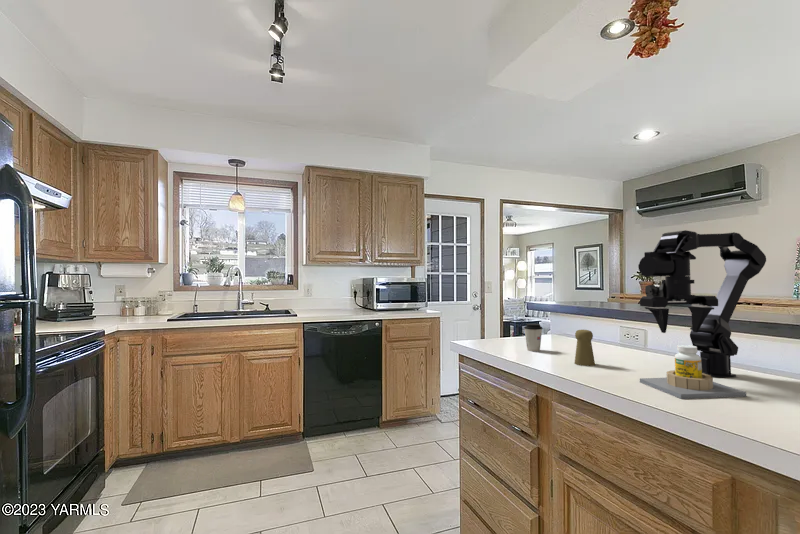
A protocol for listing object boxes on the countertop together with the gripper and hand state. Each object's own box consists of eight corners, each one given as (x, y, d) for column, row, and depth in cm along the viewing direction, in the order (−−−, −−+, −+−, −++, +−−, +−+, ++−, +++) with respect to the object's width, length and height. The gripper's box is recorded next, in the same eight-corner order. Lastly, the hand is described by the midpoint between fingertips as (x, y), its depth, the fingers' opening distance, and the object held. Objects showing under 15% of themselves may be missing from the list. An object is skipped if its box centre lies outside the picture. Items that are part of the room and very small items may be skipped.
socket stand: (696, 380, 104) (696, 367, 104) (746, 396, 90) (745, 381, 90) (639, 382, 103) (639, 368, 103) (680, 398, 89) (680, 383, 89)
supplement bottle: (705, 385, 96) (704, 346, 96) (697, 389, 93) (696, 349, 93) (680, 380, 100) (679, 343, 100) (671, 384, 97) (670, 345, 98)
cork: (574, 365, 123) (573, 330, 123) (574, 361, 129) (573, 328, 129) (596, 366, 121) (595, 331, 121) (594, 362, 126) (593, 329, 127)
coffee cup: (522, 351, 147) (521, 324, 147) (526, 348, 153) (526, 322, 153) (541, 352, 143) (540, 325, 144) (545, 349, 149) (544, 323, 150)
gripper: (686, 275, 116) (688, 327, 116) (626, 276, 115) (628, 329, 115) (719, 275, 105) (721, 333, 104) (653, 276, 104) (655, 334, 103)
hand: (679, 332), depth 107 cm, fingers open, 9 cm apart
